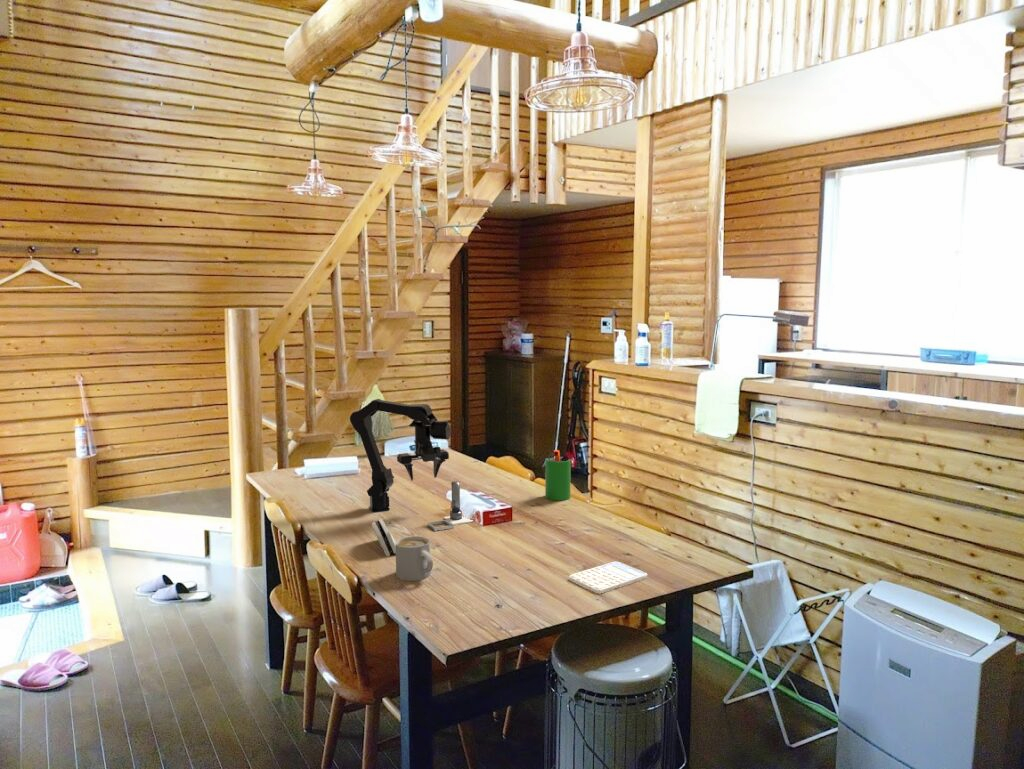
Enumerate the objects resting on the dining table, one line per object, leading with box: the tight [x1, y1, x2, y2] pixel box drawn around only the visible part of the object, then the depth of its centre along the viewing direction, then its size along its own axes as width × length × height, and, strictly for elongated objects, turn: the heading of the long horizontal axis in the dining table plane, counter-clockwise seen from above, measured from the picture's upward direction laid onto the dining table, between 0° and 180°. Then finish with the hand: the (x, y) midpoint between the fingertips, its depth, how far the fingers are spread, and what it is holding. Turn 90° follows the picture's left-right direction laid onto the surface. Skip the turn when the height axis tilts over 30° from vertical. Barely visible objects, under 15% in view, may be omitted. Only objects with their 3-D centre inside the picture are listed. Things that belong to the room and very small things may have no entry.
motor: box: [544, 449, 572, 501], centre depth 285 cm, size 10×9×20 cm
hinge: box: [371, 518, 397, 557], centre depth 230 cm, size 17×5×10 cm, turn 20°
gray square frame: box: [427, 519, 455, 532], centre depth 250 cm, size 7×7×1 cm
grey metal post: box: [449, 480, 463, 520], centre depth 258 cm, size 4×4×14 cm
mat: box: [443, 515, 473, 526], centre depth 258 cm, size 9×9×1 cm
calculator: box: [568, 561, 648, 595], centre depth 204 cm, size 13×20×2 cm, turn 126°
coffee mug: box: [395, 535, 434, 582], centre depth 206 cm, size 13×10×10 cm
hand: (423, 479), depth 266 cm, fingers open, 9 cm apart
